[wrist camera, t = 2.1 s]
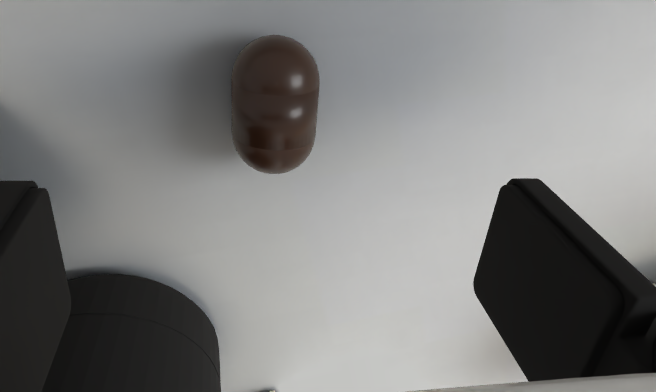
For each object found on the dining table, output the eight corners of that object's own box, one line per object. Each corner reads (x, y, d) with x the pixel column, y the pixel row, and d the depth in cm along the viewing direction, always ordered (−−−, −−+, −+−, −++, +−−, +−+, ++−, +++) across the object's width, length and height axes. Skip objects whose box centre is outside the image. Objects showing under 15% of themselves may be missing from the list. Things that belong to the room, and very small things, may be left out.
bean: (231, 23, 17) (230, 46, 14) (316, 28, 17) (329, 50, 15) (232, 151, 19) (232, 189, 17) (307, 152, 20) (317, 188, 17)
